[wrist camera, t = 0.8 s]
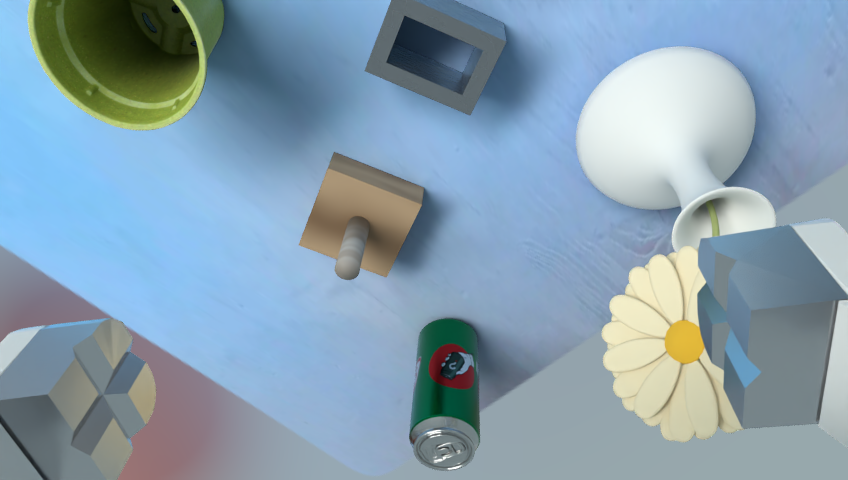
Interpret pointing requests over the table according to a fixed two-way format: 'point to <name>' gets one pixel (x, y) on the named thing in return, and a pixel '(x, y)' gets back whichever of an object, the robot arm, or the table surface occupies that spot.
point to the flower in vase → (700, 218)
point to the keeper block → (361, 217)
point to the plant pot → (127, 55)
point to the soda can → (446, 396)
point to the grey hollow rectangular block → (427, 77)
